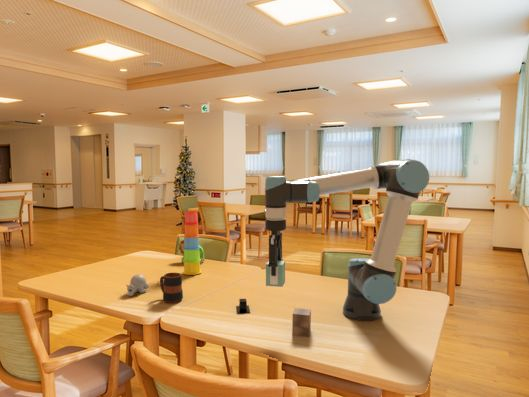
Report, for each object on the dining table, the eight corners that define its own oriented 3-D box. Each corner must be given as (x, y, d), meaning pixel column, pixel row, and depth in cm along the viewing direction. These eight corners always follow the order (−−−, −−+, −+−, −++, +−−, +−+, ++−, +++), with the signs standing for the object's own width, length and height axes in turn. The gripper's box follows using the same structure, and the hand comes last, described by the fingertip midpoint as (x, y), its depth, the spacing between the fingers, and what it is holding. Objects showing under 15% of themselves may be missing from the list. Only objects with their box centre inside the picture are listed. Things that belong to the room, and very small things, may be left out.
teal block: (285, 281, 148) (285, 260, 148) (282, 286, 143) (282, 264, 142) (269, 281, 150) (269, 260, 149) (265, 285, 144) (265, 264, 143)
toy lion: (205, 261, 249) (204, 237, 248) (202, 264, 244) (202, 239, 242) (180, 260, 252) (180, 236, 250) (177, 262, 246) (177, 238, 245)
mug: (167, 294, 187) (167, 270, 186) (186, 299, 180) (186, 273, 179) (153, 299, 179) (153, 274, 178) (173, 304, 173) (173, 278, 172)
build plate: (234, 306, 174) (234, 295, 174) (250, 305, 175) (250, 295, 175) (235, 316, 162) (235, 305, 162) (253, 315, 163) (253, 304, 162)
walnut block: (310, 330, 148) (310, 309, 147) (308, 337, 142) (309, 315, 141) (294, 328, 149) (294, 308, 148) (292, 335, 143) (292, 313, 143)
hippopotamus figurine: (123, 300, 185) (118, 286, 182) (140, 284, 195) (135, 270, 192) (135, 302, 182) (130, 288, 179) (151, 286, 192) (146, 272, 189)
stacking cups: (179, 274, 219) (179, 212, 216) (187, 270, 229) (186, 210, 226) (197, 276, 217) (197, 213, 214) (204, 271, 227) (204, 211, 224)
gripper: (270, 215, 154) (270, 273, 156) (259, 222, 136) (260, 288, 138) (290, 215, 153) (289, 274, 155) (281, 223, 134) (281, 290, 136)
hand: (275, 281), depth 146 cm, fingers closed on teal block, 6 cm apart
